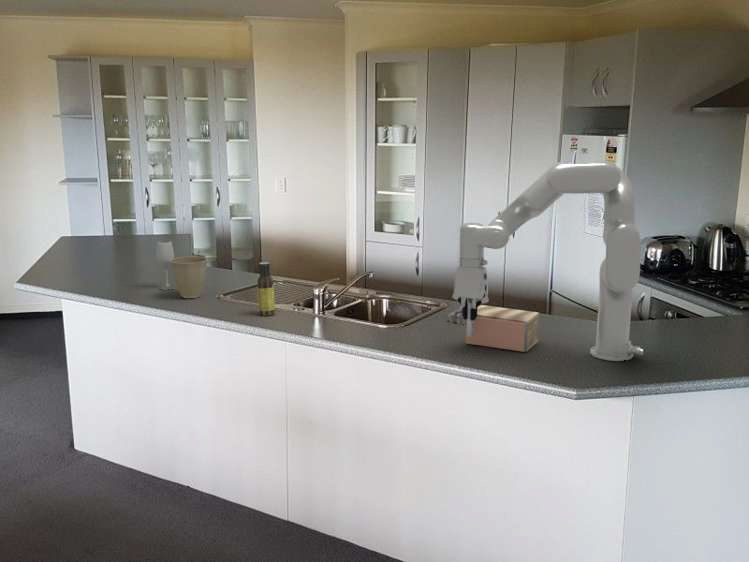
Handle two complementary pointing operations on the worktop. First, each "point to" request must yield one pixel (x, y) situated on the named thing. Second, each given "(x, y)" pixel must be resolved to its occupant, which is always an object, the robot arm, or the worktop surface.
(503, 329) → the door
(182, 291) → the plant pot
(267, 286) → the sauce bottle
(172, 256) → the wineglass
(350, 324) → the worktop surface
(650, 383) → the worktop surface
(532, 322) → the cabinet
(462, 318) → the egg carton
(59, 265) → the worktop surface
